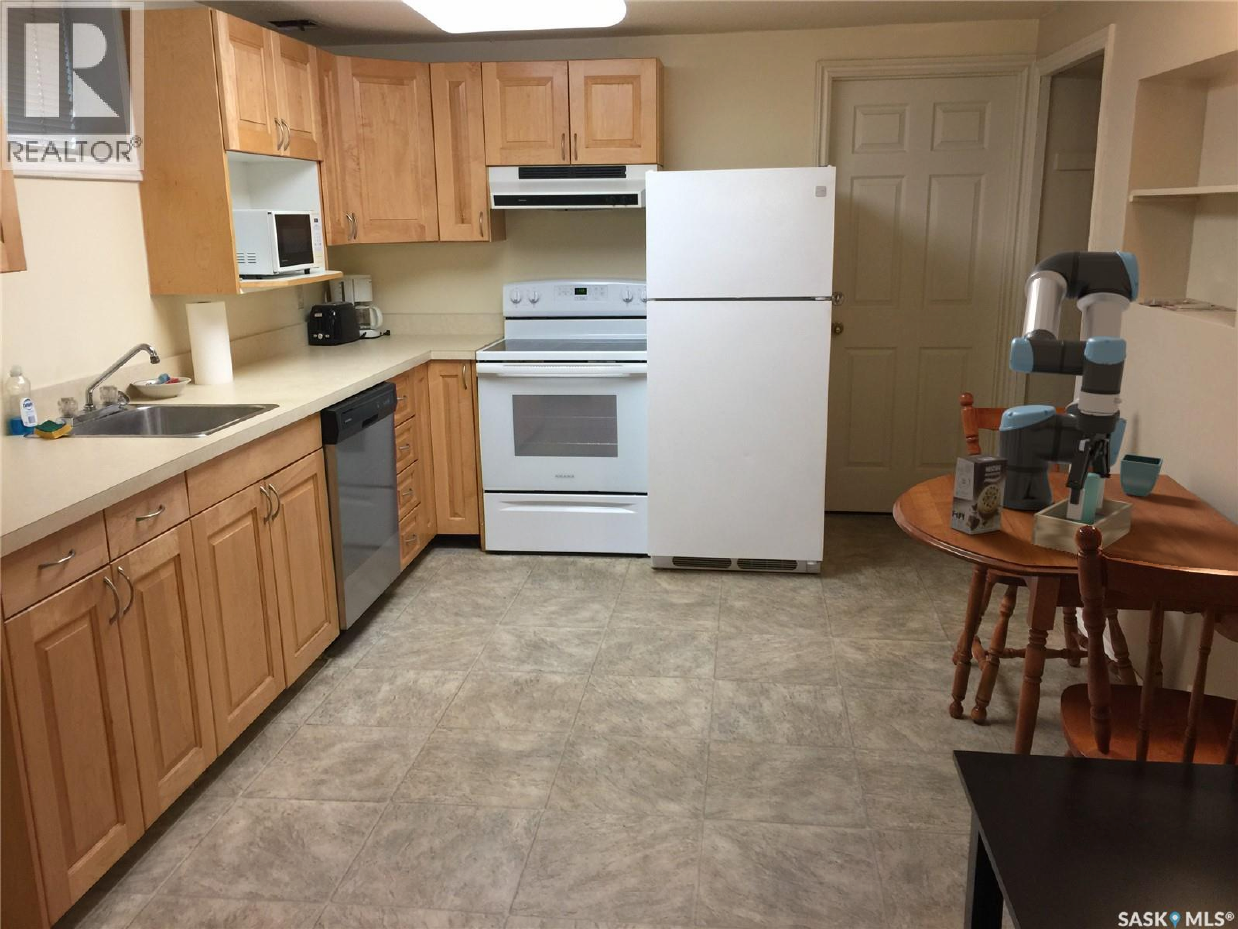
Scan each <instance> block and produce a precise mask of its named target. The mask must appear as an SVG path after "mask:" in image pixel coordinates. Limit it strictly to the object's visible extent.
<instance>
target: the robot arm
mask: <svg viewBox="0 0 1238 929" xmlns="http://www.w3.org/2000/svg"><path fill="white" fill-rule="evenodd" d="M1138 261H1139V260H1138V258H1137V257H1136V255H1135V254H1134V253H1132V252H1122V251H1118V250H1114V251H1086V250H1082V251H1081V250H1075V251H1074V250H1065V251H1059V252H1056V253H1054V254H1051V255H1050V256H1047V257H1046V258H1044V259H1042V260H1041V261H1039V262H1038V264H1036V265H1035V266H1034V267H1033V268H1032V269H1031V270H1030V272H1029V274H1028V275H1027V277H1026V278H1025V282H1024V283H1025V284H1024V289H1023V290H1024V295H1025V298H1026V300H1027V301H1026V305H1025V306H1026V307H1025V313H1024V314H1025V315H1024V320H1023V328H1022V334H1021V337H1015V338H1012V341H1011V344H1010V345H1011V346H1010V353H1009V362H1008V363H1009V364H1008V366H1009V369H1010V370H1011V371H1013V372H1019V373H1025V374H1042V375H1043V374H1044V375H1045V374H1048V375H1062V376H1065V375H1066V376H1075V384H1074V394H1073V401H1072V402H1071V403H1069V404H1068V405H1066V407H1065V412H1064V413H1057V410H1056V407H1055V406H1052V405H1045V404H1033V405H1032V404H1031V405H1030V404H1029V405H1019V406H1014V407H1010V408H1007V409H1006V410H1005V411H1004V412H1003V413H1002V416H1001V422H1000V426H999V428H998V430H999V437H998V438H999V439H998V447H997V455H996V456H998V457H1002V458H1005V459H1008V463H1007V471H1006V480H1005V489H1004V497H1003V507H1002V508H1007V509H1012V510H1021V511H1042V510H1044V509H1046V508H1048V507H1050V506H1052V505H1053V502H1054V501H1053V500H1054V495H1053V490H1052V489H1053V488H1052V486H1051V481H1050V476H1049V467H1050V463H1054V464H1062V465H1063V464H1064V465H1071V466H1070V469H1069V473H1068V475H1067V476H1068V477H1067V481H1066V482H1065V488H1069V493H1068V495H1069V496H1068V497H1069V501H1068V509H1067V518H1072V519H1077V520H1081V516H1082V509H1083V501H1084V493H1085V489H1083V488H1084V484H1085V481H1086V479H1087V476H1088V473H1090V470H1091V468H1092V473H1094V474H1098V475H1100V481H1099V489H1098V496H1097V504H1096V508H1102V501H1103V498H1104V492H1105V486H1106V479H1110V478H1111V475H1112V474H1111V467H1113V466H1114V465H1115V464H1116V463H1117V461H1118V458H1119V454H1120V451H1121V447H1122V443H1123V439H1124V436H1125V432H1126V427H1127V421H1128V420H1127V419H1126V418H1124V417H1121V410H1120V409H1119V404H1121V403H1122V402H1123V400H1122V398H1120V397H1121V387H1122V382H1123V375H1124V370H1125V364H1126V363H1125V361H1126V359H1127V341H1126V340H1125V339H1124V338H1121V330H1122V321H1123V320H1122V319H1123V313H1125V312H1126V311H1127V310H1128V309H1129V308H1130V307H1131V303H1134V302H1136V301H1137V300H1138V296H1139V290H1140V287H1139V286H1140V285H1139V282H1140V268H1139V262H1138ZM1064 299H1065V300H1075V301H1077V302H1076V307H1077V308H1078V310H1080V311H1081V312H1082V319H1081V328H1080V336H1079V340H1069V339H1059V334H1060V333H1059V330H1060V321H1061V309H1062V302H1063V300H1064Z"/></svg>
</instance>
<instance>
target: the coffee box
mask: <svg viewBox="0 0 1238 929" xmlns="http://www.w3.org/2000/svg"><path fill="white" fill-rule="evenodd" d="M1007 463H1008V459H1005V458H1002V457H998V456H997V455H992V454H988V453H982V454H975V455H968V456H967V455H965V456H958V457H957V461H956V468H955V475H954V476H955V479H954V488H953V496H952V505H951V515H950V523H949V527H950V528H951V529H955V530H957V531H960V532H962V533H964V534H967V535H977V534H983V533H987V532H993V531H994V532H995V531H998V530H1001V523H1002V516H1003V515H1002V514H1003V508H1004V507H1003V497H1004V489H1005V480H1006V471H1007Z"/></svg>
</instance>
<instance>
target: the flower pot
mask: <svg viewBox="0 0 1238 929" xmlns="http://www.w3.org/2000/svg"><path fill="white" fill-rule="evenodd" d="M1119 462H1120V464H1119V465H1120V466H1119V481H1120V486H1121V489H1122V491H1123V493H1124V494H1125V495H1132V496H1137V497H1144V498H1147V497H1149V495H1151V493H1152V492H1153V490H1154V488H1155V486H1156V483H1157V481H1158V479H1159V476H1160V472H1161V469H1162V465H1163V462H1164V458H1162V457H1152V456H1147V455H1138V454H1130V453H1124V454H1123V455H1122V457H1121V459H1120V460H1119Z"/></svg>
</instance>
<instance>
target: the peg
mask: <svg viewBox="0 0 1238 929" xmlns="http://www.w3.org/2000/svg"><path fill="white" fill-rule="evenodd" d="M1099 481H1100V475H1098V474H1094V473H1093V472H1092V473H1091V472H1089V473H1088V476H1087V479H1086V481H1085V484H1084V488H1083V489H1085V493H1084V501H1083V509H1082V516H1081V520H1077V519H1073V522H1077V523H1082V524H1087V525H1093V524H1094V519H1095V511H1096V504H1097V496H1098V489H1099Z"/></svg>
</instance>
